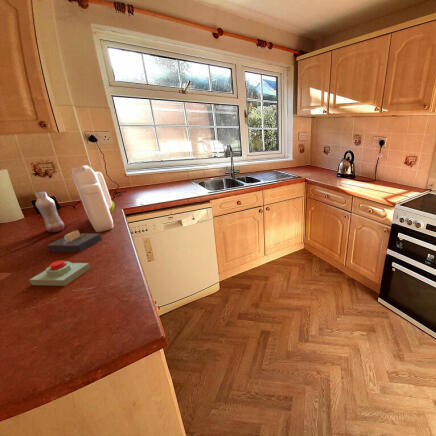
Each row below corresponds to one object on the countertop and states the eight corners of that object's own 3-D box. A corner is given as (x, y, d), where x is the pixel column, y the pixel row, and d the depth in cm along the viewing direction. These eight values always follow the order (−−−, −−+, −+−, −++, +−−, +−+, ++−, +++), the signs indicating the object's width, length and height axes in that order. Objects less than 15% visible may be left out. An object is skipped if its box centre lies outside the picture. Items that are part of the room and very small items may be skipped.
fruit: (94, 218, 135) (88, 201, 131) (101, 213, 143) (95, 196, 140) (113, 216, 138) (107, 199, 134) (118, 210, 146) (113, 194, 142)
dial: (70, 241, 102) (67, 234, 101) (67, 241, 102) (64, 234, 101) (80, 236, 107) (78, 229, 106) (78, 236, 107) (75, 229, 106)
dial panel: (49, 251, 101) (46, 244, 100) (73, 239, 111) (70, 233, 110) (80, 251, 100) (77, 245, 99) (101, 239, 110) (99, 233, 109)
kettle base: (32, 285, 80) (26, 275, 78) (60, 267, 89) (56, 258, 88) (65, 285, 79) (60, 275, 77) (91, 268, 88) (87, 258, 87)
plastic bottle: (48, 231, 121) (30, 192, 113) (66, 227, 125) (50, 189, 117) (47, 235, 116) (29, 195, 109) (66, 231, 120) (49, 192, 113)
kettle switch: (48, 270, 81) (46, 266, 81) (59, 264, 85) (57, 260, 84) (58, 270, 81) (56, 266, 80) (68, 264, 84) (66, 260, 84)
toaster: (124, 228, 121) (104, 168, 109) (96, 236, 114) (72, 172, 102) (113, 215, 139) (94, 162, 128) (88, 221, 132) (67, 165, 120)
